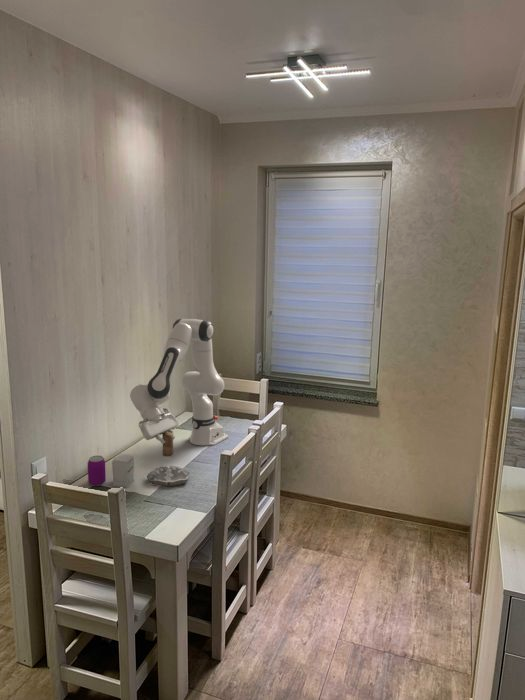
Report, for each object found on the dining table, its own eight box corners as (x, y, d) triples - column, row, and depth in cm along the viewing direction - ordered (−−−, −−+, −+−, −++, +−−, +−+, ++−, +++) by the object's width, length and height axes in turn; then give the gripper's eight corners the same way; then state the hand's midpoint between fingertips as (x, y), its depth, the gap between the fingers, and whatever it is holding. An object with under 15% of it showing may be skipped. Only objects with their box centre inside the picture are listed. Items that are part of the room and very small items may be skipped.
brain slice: (188, 470, 249) (188, 465, 249) (190, 487, 233) (190, 481, 232) (147, 472, 246) (147, 466, 245) (146, 489, 229) (145, 483, 229)
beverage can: (109, 481, 235) (108, 456, 233) (97, 488, 228) (96, 463, 226) (96, 477, 238) (95, 453, 236) (84, 484, 231) (83, 459, 229)
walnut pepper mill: (168, 451, 240) (168, 431, 238) (175, 454, 237) (175, 434, 235) (160, 454, 236) (160, 434, 234) (167, 457, 233) (167, 436, 231)
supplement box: (127, 488, 229) (126, 462, 227) (112, 486, 231) (111, 460, 228) (134, 480, 236) (134, 455, 234) (119, 478, 238) (119, 453, 235)
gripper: (140, 418, 227) (157, 444, 225) (171, 407, 245) (186, 431, 242) (133, 426, 231) (149, 451, 228) (164, 414, 248) (179, 437, 245)
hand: (169, 441), depth 235 cm, fingers closed on walnut pepper mill, 5 cm apart
